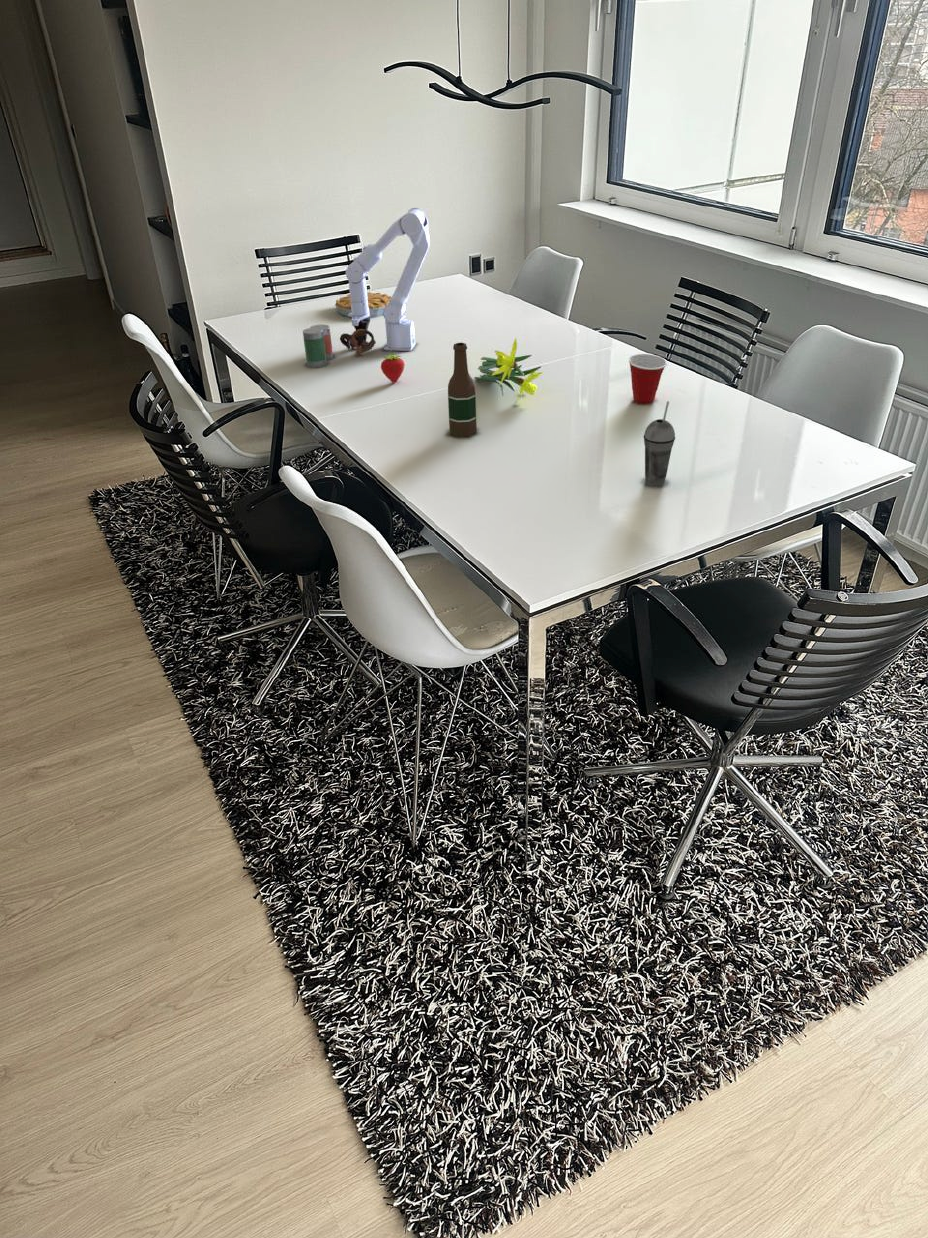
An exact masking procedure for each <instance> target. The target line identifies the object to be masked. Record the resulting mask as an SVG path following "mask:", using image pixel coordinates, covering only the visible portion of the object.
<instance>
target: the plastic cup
mask: <svg viewBox="0 0 928 1238" xmlns="http://www.w3.org/2000/svg"><path fill="white" fill-rule="evenodd" d="M628 363H629V368H630V376H631V377H630V378H631V390H632V399H633V402H634V403H636V404H640V405H650V404H652V403H653V402H654V401H655V399H656V396H657V391H658V389H659V385H660V382H661V378H662V375H663V372H664V370H665V368H666V366H667V365H668V361H667V360H666V358H664V357H662V356H659V355H657V354H653V353H651V354H650V353H637V354H633V355H631V356H629V357H628Z"/></svg>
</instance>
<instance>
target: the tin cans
mask: <svg viewBox="0 0 928 1238" xmlns="http://www.w3.org/2000/svg"><path fill="white" fill-rule="evenodd" d="M330 328H331V327H330V325H328V324H314V325H311V326H310V327H308V328H305V329H303V330H302V336H303V337H302V339H303V345H304V352H305V353H304V354H305V360H306V365H307V367H308V368H313V369H314V368H316V369H317V368H323V367H326V366H327V364H328V362H327V361H329V360H331V359H333V358H334V355H333V353H334V352H333V345H332V336H331V335H332V334H331V329H330Z"/></svg>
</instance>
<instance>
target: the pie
mask: <svg viewBox="0 0 928 1238" xmlns="http://www.w3.org/2000/svg"><path fill="white" fill-rule="evenodd" d="M367 298H368V308H369V313H370V316H369V317H367V318H375V317H379V316H383V309H384V307H385V306H386V305H387V304H388V303H389V301H390V300H391V298H392V295H391V296H390V295H388V294H386V293H384V294H382V293H381V292H375V293H373V292H367ZM334 306H335V307H336V308H337V310H338V312H339V314H341V315H342V316H344V317H349V318H352V317H351V316H349V315H348V314H349V313H352V310H351V301H350V293H349V294H346V296H341V297H339V299H338V298H337V299H336V300H335V304H334Z"/></svg>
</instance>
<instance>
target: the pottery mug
mask: <svg viewBox="0 0 928 1238" xmlns="http://www.w3.org/2000/svg"><path fill="white" fill-rule="evenodd" d="M366 334H367V336H369V337H370V338H371V339H370V341H367V340H366V341H364V340H362V338H363V336H364V335H366ZM339 340H340V343H341V344H342V345H343V346H345V347H346V349H347V350H349V351H350V349H351V350H353V349H354V348H356V351H355V355H357V356H358V357H361V356H362V354H364V353H367V352H369V351H371V350H372V349H373V348H374V347H375V345H376V344H377V343H376V340H375V336H374V334H373V333H372V331H370V330H369V329H368V330H364V329H360V330H359V329H358V330H356V329H355V330H354V331H353V332H352V333H351V334H349V333H342V334H340V337H339Z"/></svg>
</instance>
